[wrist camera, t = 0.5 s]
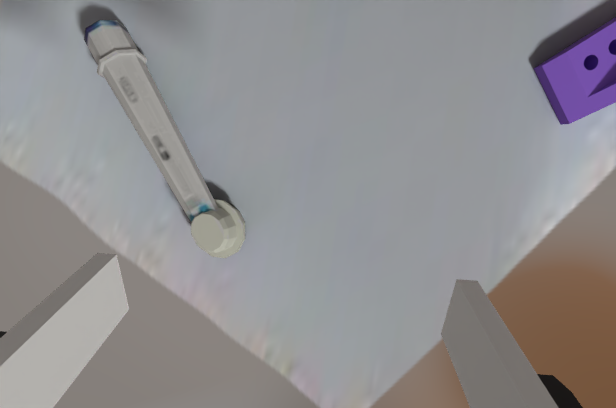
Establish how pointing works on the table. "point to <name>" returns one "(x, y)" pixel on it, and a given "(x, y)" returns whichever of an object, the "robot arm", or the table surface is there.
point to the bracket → (582, 75)
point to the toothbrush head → (163, 138)
